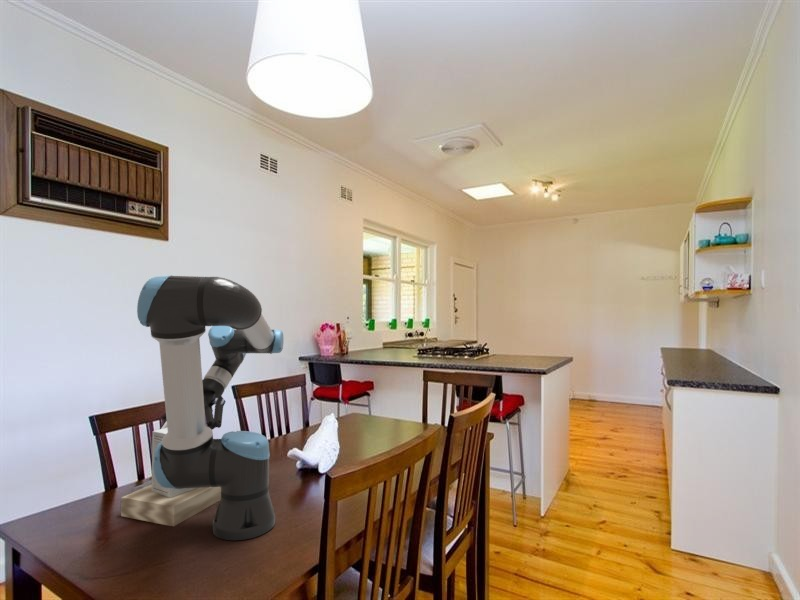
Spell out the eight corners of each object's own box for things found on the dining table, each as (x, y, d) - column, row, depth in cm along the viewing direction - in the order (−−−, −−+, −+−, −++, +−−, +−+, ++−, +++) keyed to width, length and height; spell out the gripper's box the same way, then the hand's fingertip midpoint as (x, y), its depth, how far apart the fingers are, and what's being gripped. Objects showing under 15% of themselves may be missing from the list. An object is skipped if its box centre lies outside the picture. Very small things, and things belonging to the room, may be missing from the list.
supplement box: (201, 487, 126) (202, 427, 127) (170, 498, 118) (171, 435, 119) (181, 480, 131) (182, 423, 132) (150, 491, 123) (151, 430, 124)
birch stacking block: (222, 498, 130) (222, 481, 131) (173, 526, 113) (174, 506, 114) (174, 491, 136) (174, 474, 136) (121, 516, 119) (121, 497, 119)
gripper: (252, 393, 139) (218, 456, 124) (188, 389, 147) (149, 447, 132) (241, 378, 134) (204, 442, 119) (176, 375, 142) (134, 434, 127)
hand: (175, 445), depth 125 cm, fingers open, 13 cm apart
